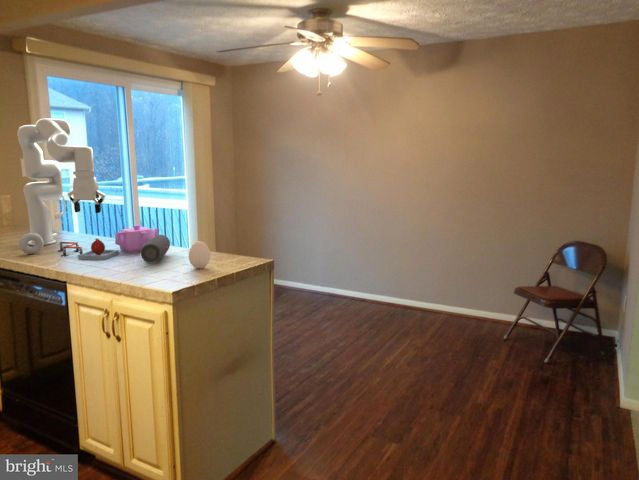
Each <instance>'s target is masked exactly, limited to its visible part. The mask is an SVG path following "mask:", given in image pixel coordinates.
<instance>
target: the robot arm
mask: <svg viewBox="0 0 639 480" xmlns="http://www.w3.org/2000/svg"><path fill="white" fill-rule="evenodd" d="M71 129H72V128H71V125H70V123H69V122H68V121H67V120H65V119H61V118H49V117H48V118H40V119H38V120H37V121H36V123H35V124H26V125H22V126H19V128H18V130H17V139H18V142H19V145H20V148H21V150H22V157H23V165H24V174H25V175H26V177H27V178H28V179H29V180H48V181H33V182H28V183H26V184H24V186H23V189H22V190H23V194H24V197H25V199H24V200H25V202H26V207H27V213H28V214H27V215H28V223H29V231H30V232H29V233H36V234H38V235H40V236H41V237H42V239H43V242H44V243H43V246H46V245H47V246H48V245H54V244H56V243H57V240H56V239H54V238H56V237H57V236H58V234H57V233H56V232H54V233H53V230H52V229H53V228H52V222H51V221H52V220H51V219H52V218H51V212H50V211H51V210H50V207H49V206H48V205H47V204H46V203H45V201H51V200H52V201H53V200H54V201H55V200H59V199H61V198H63V197H62V196H63V192H64V189H63V178H62V169H61V166H60V165H59V163H74V171H73V172H72V174H73V175H74V177H73V182H72V190H71V191H70V192H68V193H67V196H68V198H69V200H70V201H71V203H72V204H73V208H74V213H80V212H81V204H80V201H93V202H94V203H95V204H94V209H95V211H94V212H95V214H101V211H102V206H101V205H102V203H103V202H105V199H106V194H105V193H104V192H101V191H100V190H99V185H98V179H97V177H96V176H95V165H94V151H93V148H92V147H90V146H83V145H66V144H67V143H68V141H69V136H70V135H71V132H72V130H71ZM38 143H39V144H46V150H47V153H48V154H49V155H50V157H51V158H52V159H53V160H52V159H51V160H50V159H48V160H47V159H44V153H43V150H42V148H41V147H40V146H39V145H38ZM34 245H35V241H34V240H30V241H29V242H28V246H34Z"/></svg>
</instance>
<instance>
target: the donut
mask: <svg viewBox="0 0 639 480" xmlns="http://www.w3.org/2000/svg"><path fill="white" fill-rule="evenodd" d="M31 240H34V241H35V245H32V246H30V245H29V244H28V242H29V241H31ZM43 243H44V242H43V239H42V237H41V236H40V235H38V234H36V233H30V232H29V233H26V234H24V235H22V236H21V237H20V238H19V242H18V246H19V248H20V250H21V251H22V252H23V253H25V254H28V255H34V254H37V253H39V252H41V250H42V249H43V247H44V245H43Z"/></svg>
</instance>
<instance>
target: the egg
mask: <svg viewBox="0 0 639 480" xmlns="http://www.w3.org/2000/svg"><path fill="white" fill-rule="evenodd" d="M188 260H189V263H190V264H191V266H192V267H194V268H195V269H199V268H200V269H203V268H205V267H206V266H207V265H208V264H209V262H210V261H211V252H210V248H209V247H208V245H207V244H206V243H205V242H204V241H202V240H197V241H195V242H193V244H192V245H191V246H190V248H189V250H188Z"/></svg>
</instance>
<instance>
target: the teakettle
mask: <svg viewBox="0 0 639 480" xmlns="http://www.w3.org/2000/svg"><path fill="white" fill-rule="evenodd" d="M159 232H160V228H154V229H153V228H150V227H146V226H141V224H134V225H133V226H132V227H131V228H124V229H123V228H122V229H121V230H120V231H118V232H115V239H114V240H115V241H114V244H115V245H116V246H119V248H120V251H122V252H125V253H126V254H127V253H128V254H138V253H141V250H142V247H143V246H144V245H145V244H146V243H147V242H148V241H149V240H150V239H151V238H153V237H154V236H157V235H159Z"/></svg>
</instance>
